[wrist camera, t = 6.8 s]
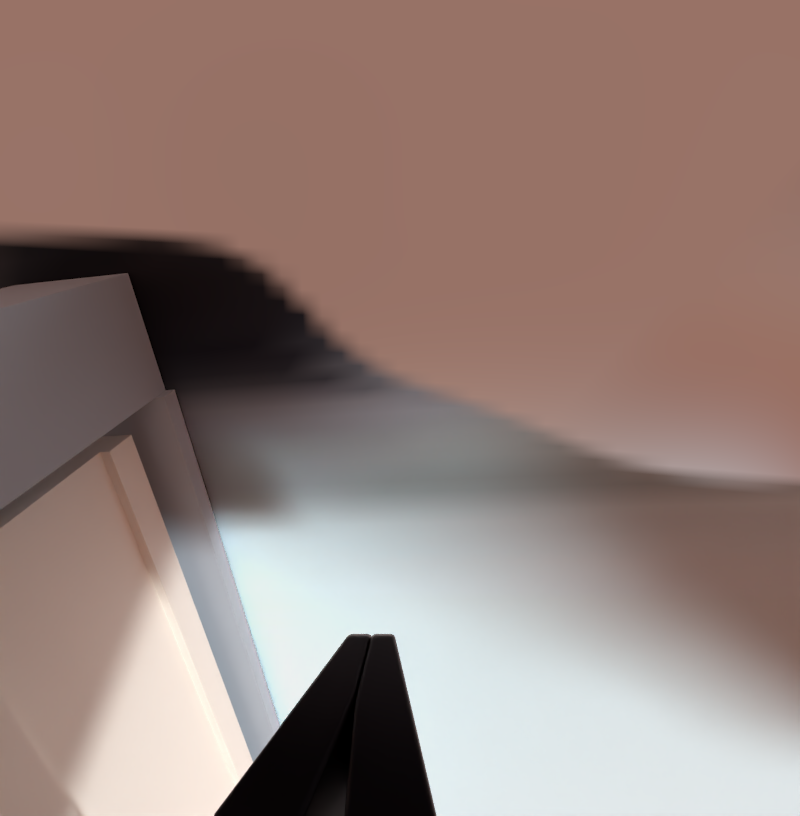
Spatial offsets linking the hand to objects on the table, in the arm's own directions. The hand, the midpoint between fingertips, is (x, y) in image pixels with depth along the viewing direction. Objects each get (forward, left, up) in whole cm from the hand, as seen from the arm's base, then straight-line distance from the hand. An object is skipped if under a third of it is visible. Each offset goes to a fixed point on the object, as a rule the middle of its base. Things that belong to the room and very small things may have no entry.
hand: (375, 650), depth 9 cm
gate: (+6, +3, -2) cm, 7 cm away
